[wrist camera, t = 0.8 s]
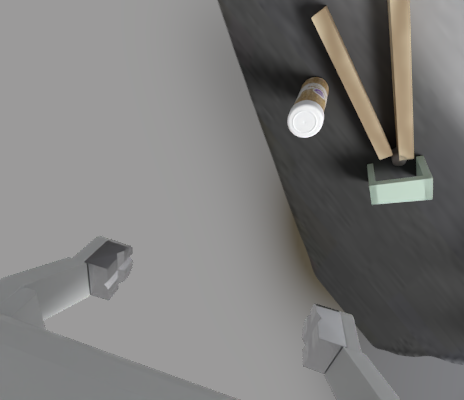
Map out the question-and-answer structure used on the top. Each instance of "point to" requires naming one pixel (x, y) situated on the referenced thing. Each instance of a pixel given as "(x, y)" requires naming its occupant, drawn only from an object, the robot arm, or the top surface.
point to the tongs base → (401, 79)
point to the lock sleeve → (402, 186)
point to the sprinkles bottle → (309, 108)
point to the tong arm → (351, 81)
